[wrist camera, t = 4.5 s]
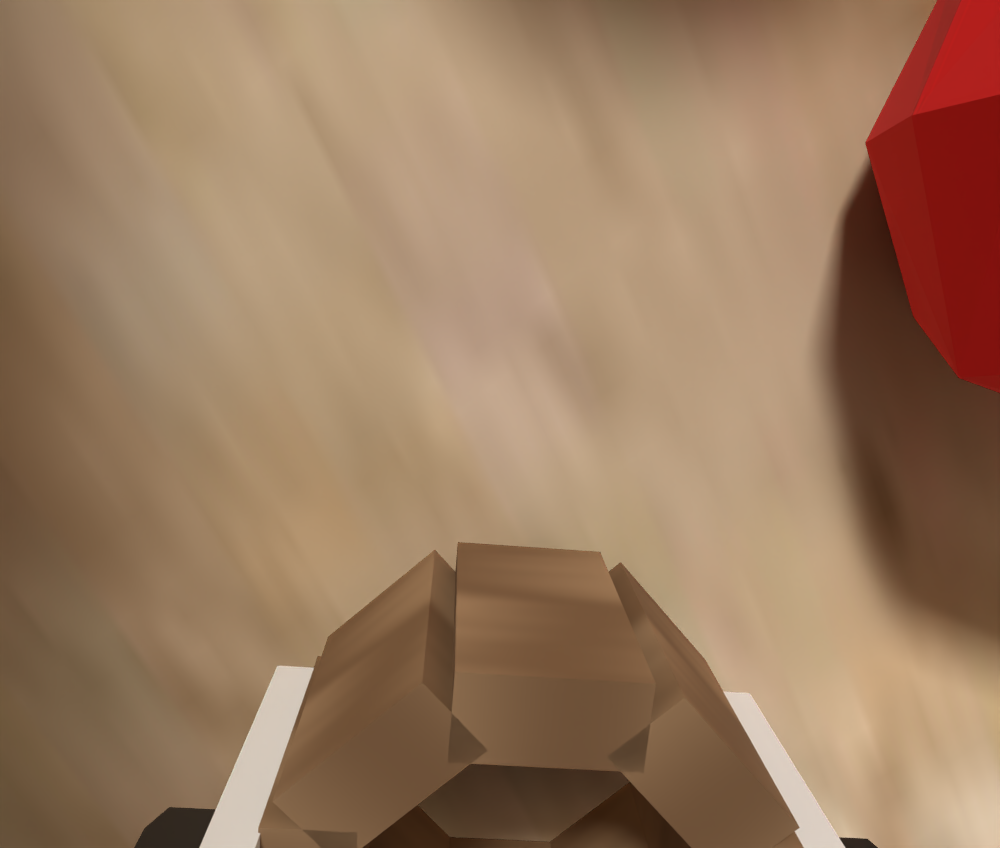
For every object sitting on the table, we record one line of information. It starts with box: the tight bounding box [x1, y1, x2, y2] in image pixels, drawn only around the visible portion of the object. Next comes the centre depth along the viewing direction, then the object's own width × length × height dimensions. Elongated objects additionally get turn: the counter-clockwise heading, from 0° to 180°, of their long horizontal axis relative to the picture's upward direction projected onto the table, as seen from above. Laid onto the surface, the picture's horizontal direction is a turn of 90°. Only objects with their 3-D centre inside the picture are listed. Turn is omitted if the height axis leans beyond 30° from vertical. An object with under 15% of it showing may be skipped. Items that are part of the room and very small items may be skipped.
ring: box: [258, 542, 804, 848], centre depth 15 cm, size 8×8×5 cm
